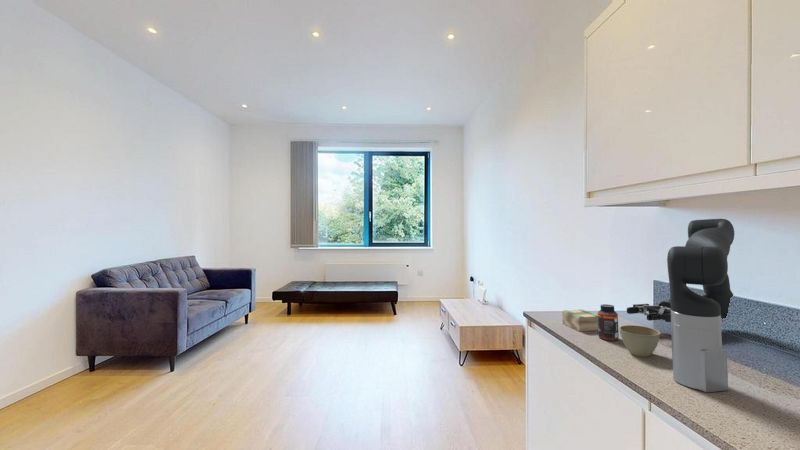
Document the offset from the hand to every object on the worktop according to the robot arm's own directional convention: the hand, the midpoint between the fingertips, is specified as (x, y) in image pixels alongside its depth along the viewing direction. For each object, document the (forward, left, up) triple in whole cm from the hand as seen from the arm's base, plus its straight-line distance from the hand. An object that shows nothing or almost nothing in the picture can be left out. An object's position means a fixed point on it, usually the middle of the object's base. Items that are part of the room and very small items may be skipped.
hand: (637, 313), depth 117 cm
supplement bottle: (0, +11, -8) cm, 14 cm away
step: (+14, +11, -8) cm, 19 cm away
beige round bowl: (-14, +12, -8) cm, 20 cm away
